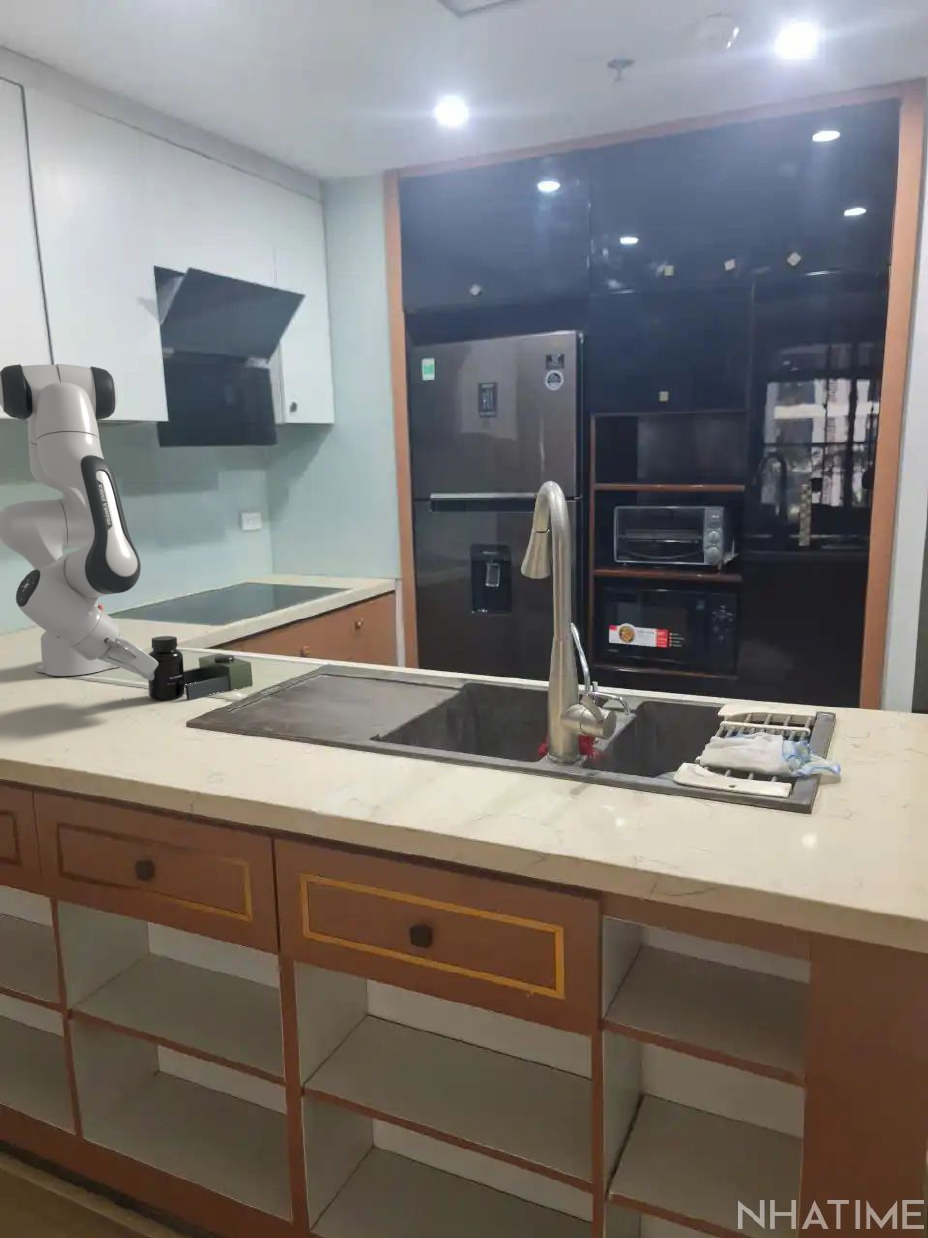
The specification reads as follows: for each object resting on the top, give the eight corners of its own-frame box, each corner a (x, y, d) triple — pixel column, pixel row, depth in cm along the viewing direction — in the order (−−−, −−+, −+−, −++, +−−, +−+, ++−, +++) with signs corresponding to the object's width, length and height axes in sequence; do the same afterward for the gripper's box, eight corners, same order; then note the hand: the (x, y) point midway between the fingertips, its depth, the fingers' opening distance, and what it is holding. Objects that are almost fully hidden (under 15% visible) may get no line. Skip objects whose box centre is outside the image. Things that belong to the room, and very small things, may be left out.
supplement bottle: (179, 700, 174) (176, 641, 172) (144, 701, 174) (140, 641, 172) (189, 691, 181) (185, 634, 178) (155, 691, 180) (151, 634, 178)
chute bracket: (190, 700, 174) (187, 673, 173) (160, 689, 183) (158, 663, 182) (252, 685, 183) (250, 659, 182) (221, 675, 193) (219, 650, 191)
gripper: (129, 629, 160) (185, 671, 168) (86, 617, 174) (139, 656, 183) (107, 658, 157) (164, 699, 166) (66, 642, 172) (120, 681, 180)
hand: (151, 676), depth 174 cm, fingers closed
